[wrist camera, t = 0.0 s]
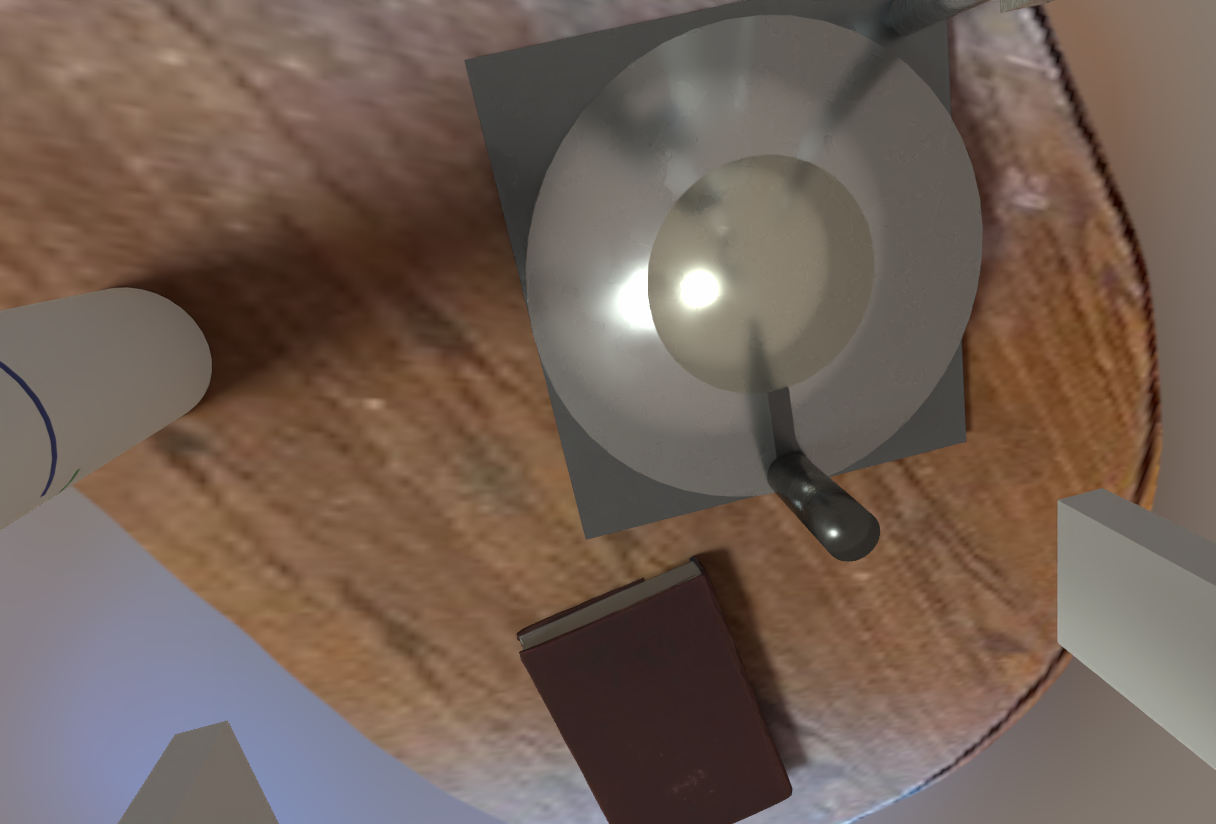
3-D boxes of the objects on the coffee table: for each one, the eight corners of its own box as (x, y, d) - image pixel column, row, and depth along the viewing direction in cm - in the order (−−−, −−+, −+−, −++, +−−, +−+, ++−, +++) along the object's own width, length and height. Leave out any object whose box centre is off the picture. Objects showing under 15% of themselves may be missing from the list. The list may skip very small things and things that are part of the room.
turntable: (470, 82, 32) (452, 33, 23) (947, -20, 33) (1108, -104, 24) (583, 530, 39) (603, 627, 30) (967, 432, 41) (1096, 496, 32)
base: (466, 64, 33) (440, -8, 22) (932, -35, 34) (1131, -150, 23) (584, 531, 41) (609, 652, 30) (956, 436, 42) (1111, 517, 31)
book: (697, 548, 43) (710, 575, 40) (781, 764, 49) (799, 802, 46) (514, 624, 43) (514, 656, 40) (622, 831, 49) (629, 873, 46)
